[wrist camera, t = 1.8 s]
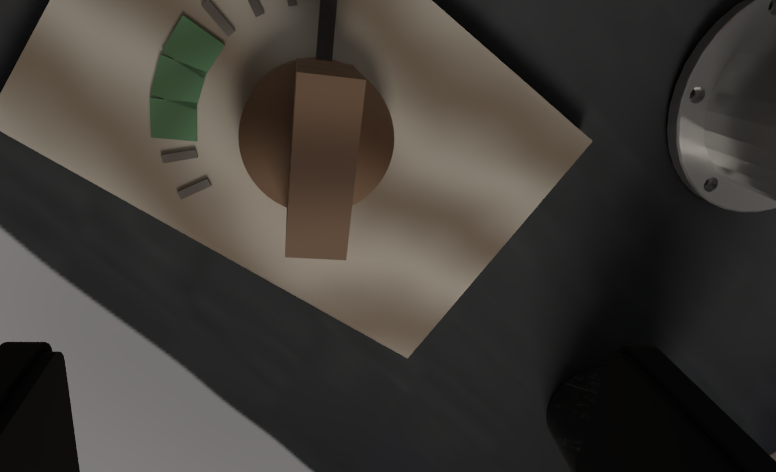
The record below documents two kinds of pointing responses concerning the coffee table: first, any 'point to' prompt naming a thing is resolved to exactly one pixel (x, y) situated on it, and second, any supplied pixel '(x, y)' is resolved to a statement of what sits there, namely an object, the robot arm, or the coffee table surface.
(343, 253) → the knob
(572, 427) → the travel mug
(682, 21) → the coffee table surface
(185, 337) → the coffee table surface
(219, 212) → the dial board
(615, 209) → the coffee table surface
